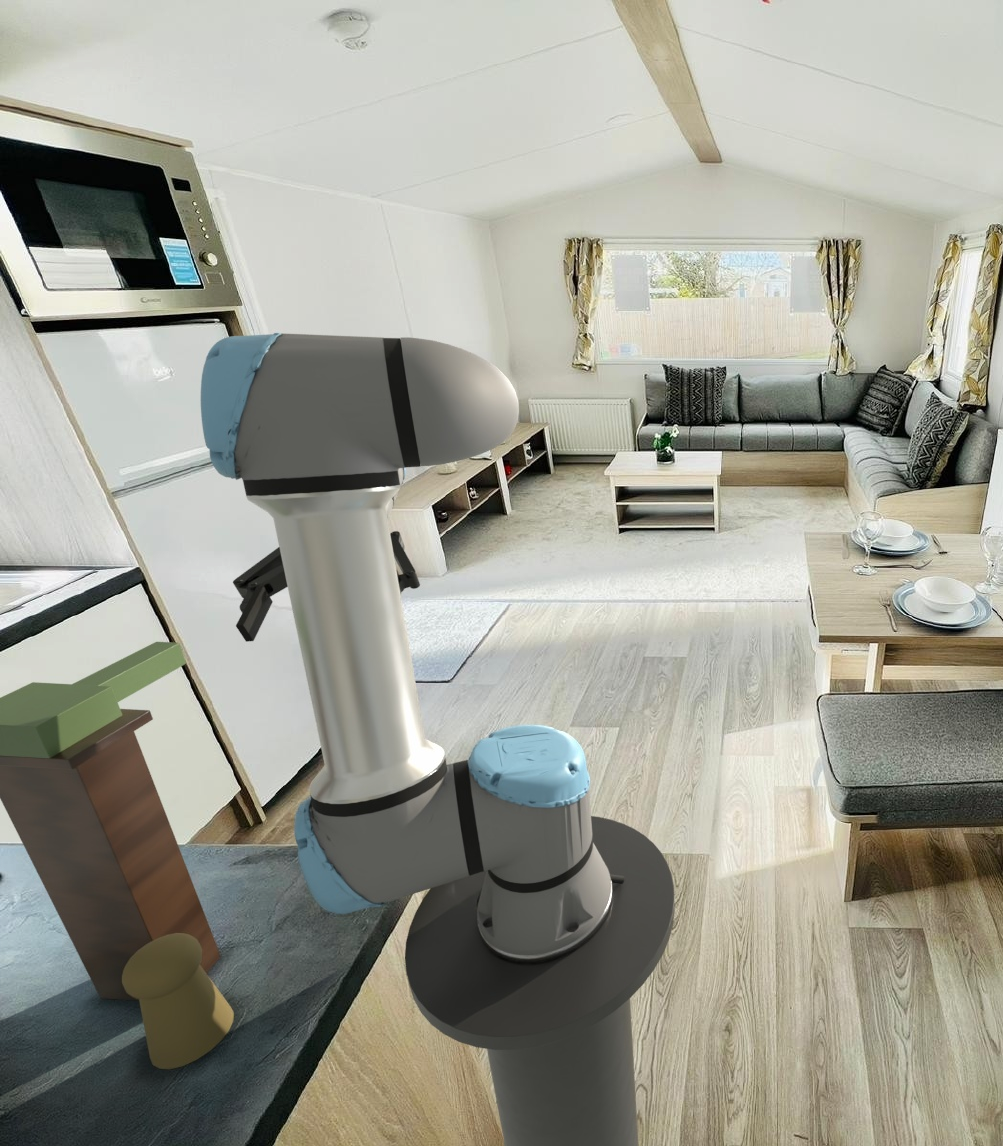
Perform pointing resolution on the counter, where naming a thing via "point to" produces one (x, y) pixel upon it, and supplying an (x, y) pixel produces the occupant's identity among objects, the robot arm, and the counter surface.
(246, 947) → the counter surface
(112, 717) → the paddle
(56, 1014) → the counter surface
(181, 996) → the cork
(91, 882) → the shelf stand
